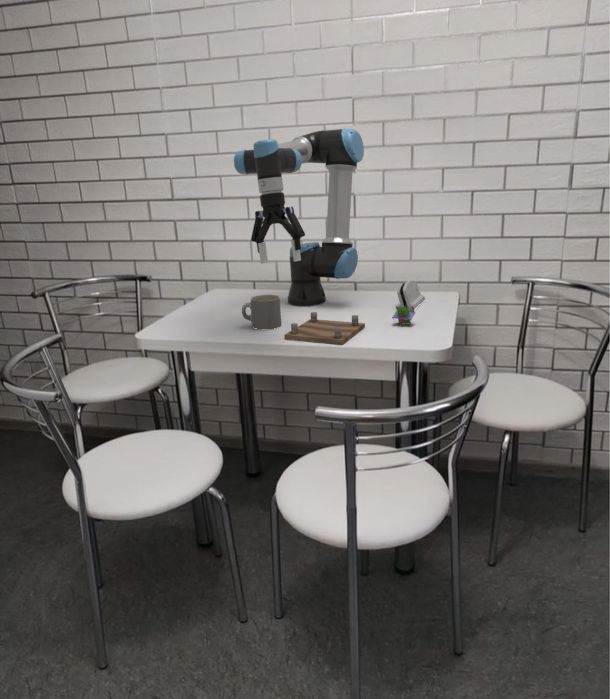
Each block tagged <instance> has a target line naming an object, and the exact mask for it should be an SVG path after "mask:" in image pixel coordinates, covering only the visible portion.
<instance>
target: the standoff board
mask: <svg viewBox="0 0 610 699" xmlns="http://www.w3.org/2000/svg"><path fill="white" fill-rule="evenodd" d="M290 328H291V330H290V331H288V332H287V333H285V334H284V340H286V341H287V340H289V341H297V342H298V341H301V342H307V343H308V342H309V343H320V344H328V345H329V344H331V345H341V346H343V345H345V344H347V342H348V341H349V340H351V339H353V337H355V336H356V335H357V334H359V333H360V332H361V331H363V330H364V329H365V328H366V323H364V322H359V315H358V314H353V315H351V321H342V320H326V319H318V312H317V311H312V312H310V319H308V320H306V321H305V322H303V323H301V324H300V325H299V324H298V323H291V324H290Z"/></svg>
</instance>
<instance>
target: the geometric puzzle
mask: <svg viewBox="0 0 610 699" xmlns="http://www.w3.org/2000/svg"><path fill="white" fill-rule="evenodd" d="M415 314H416V312H415V310H414V309H413V307H410V306H408V305H406V306H405V307H404V306H403V307H401V306H396V307H395V312H394V314H393V315H392V317H391V319H393V320H394V321H395V322H398V324H399V325H401V326H403V325H407V324H406V323H410V324H411V321H412V320H413V318H414V316H415ZM396 319H397V320H398V321H397V320H396ZM403 323H405V324H403Z"/></svg>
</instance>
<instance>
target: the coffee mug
mask: <svg viewBox="0 0 610 699" xmlns="http://www.w3.org/2000/svg"><path fill="white" fill-rule="evenodd" d="M280 297H281V296H279V295H276V294H259V295H255V296H252V297H250V302H246V303H244V304H243V305H242V306H241V314H242V317H243V318H244V319H245V320H247V321H250V322H251V323H252V324H251V325H252V328H253V327H254V328H257V329H256V330H258V329H271V330H275V329H274V328H276V329H278V328H277V327H279V328H281V326H282V314H281V313H282V312H281V298H280ZM247 308H249V309H250V314H249V315H248V314H247V312H246V311H247V310H246V309H247ZM254 328H253V329H254Z"/></svg>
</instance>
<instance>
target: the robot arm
mask: <svg viewBox="0 0 610 699" xmlns="http://www.w3.org/2000/svg"><path fill="white" fill-rule="evenodd" d="M364 146H365V145H364V142H363V139H362V136H361V134H360V133H359V132H358V130H356V129H354V128H342V129H341V128H340V129H328V130H327V129H326V130H318V131H316V130H315V131H313V132H309V133H307V134H303V135H300V136H296V137H294V138H293V139H292V140H291V141H285V142H282V143H278V141H277V140H276V139H273V138H272V139H270V138H269V139H261V140H257V141H255V142H254V143H253V149H243V150H238V151H236V153H235V155H234V156H233V166H234V169H235V170H236V172H237V173H238V174H241V175H255V174H256V175H257V177H256V178H257V186H258V192H259V194H260V195H259V201H260V207H261V208H262V210H256V211H255V212H254V216H255V217H254V218H255V219H254V224H253V228H252V232H251V237H250V241H251V242H255V243H256V248H257V252H258V254H259V260H260V264H267V263H269V260H268V251H267V244H266V241H265V238H266V236H267V234H268V231H269V230H270V227H271V226H272V225H274V224H279V225H281V227H283V229H284V230H285V231H286V232H287V233H288V234H289V236H290V237H291V240H290V243H291V244H290V245H291V247H290V249H289V264H290V265H289V267H290V268H289V269H290V287H289V291H288V295H287V304H288V305H291V306H296V307H311V306H319V305H322V304H324V303H326V301H327V299H326V298H327V297H326V294H325V290H324V287H323V285H322V282H321V278H326V279H328V278H329V279H337V280H341V279H348V278H350V277H351V276H352V275H353V274H354V273H355V271H356V268H357V266H358V261H359V254H358V251H357V249H356V248H354V247H353V245H354V244H353V242H352V241H351V239H350V225H351V224H350V223H351V208H352V206H351V205H352V203H351V202H352V190H353V189H352V187H353V186H352V185H353V184H352V183H353V174H354V171H356V170H357V168H358V163H361V162H362V160H363V158H364V155H365V150H364V149H365V148H364ZM311 163H312V164H325V166H324V167H325V168H326V170H327V171H328V188H327V189H328V191H327V211H326V212H327V215H326V236H325V238H324V239H323V240H322V241H321V245H320V243H319V242H318V241H314V242H305V243H301V239H302V238H303V237H305V236H306V232H305V231H304V229H303V227H302V225H301V223H300V221H299V219H298V218H297V215H296V214H295V209H294V207H293V206H287V207H285V204H286V198H285V193H284V192H283V191H284V184H283V182H284V181H283V175H282V174H292V173H296V172H297V171H299V170H300V168H302V165H303V164H311Z"/></svg>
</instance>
